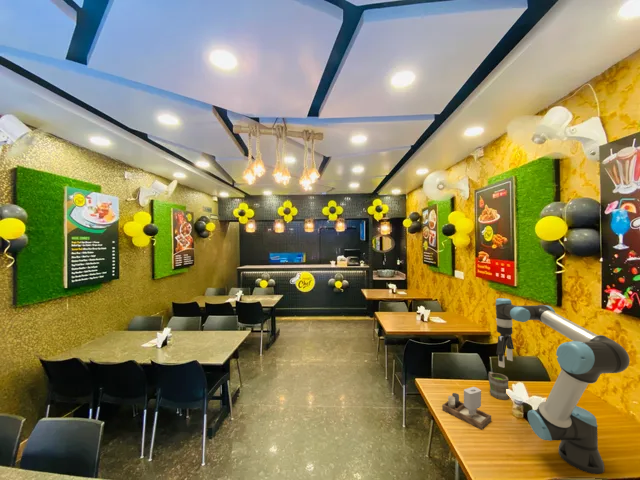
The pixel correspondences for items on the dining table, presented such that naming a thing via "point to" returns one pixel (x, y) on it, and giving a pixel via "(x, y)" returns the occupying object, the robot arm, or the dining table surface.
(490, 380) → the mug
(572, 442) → the robot arm
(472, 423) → the caddy
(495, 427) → the dining table surface
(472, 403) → the charger
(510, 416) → the dining table surface
